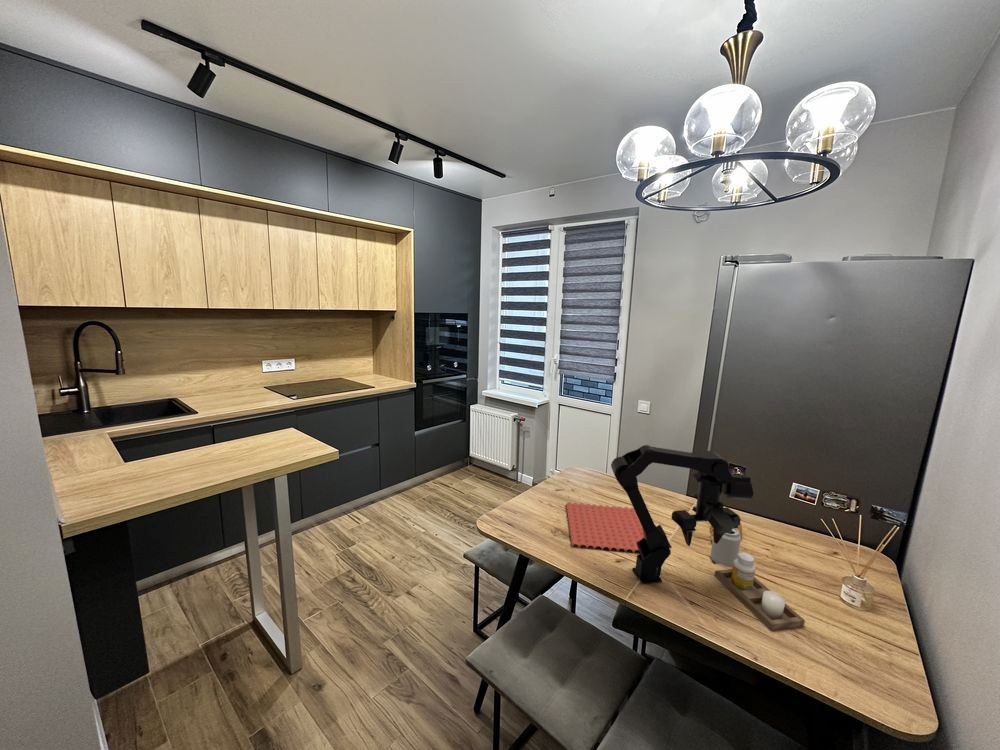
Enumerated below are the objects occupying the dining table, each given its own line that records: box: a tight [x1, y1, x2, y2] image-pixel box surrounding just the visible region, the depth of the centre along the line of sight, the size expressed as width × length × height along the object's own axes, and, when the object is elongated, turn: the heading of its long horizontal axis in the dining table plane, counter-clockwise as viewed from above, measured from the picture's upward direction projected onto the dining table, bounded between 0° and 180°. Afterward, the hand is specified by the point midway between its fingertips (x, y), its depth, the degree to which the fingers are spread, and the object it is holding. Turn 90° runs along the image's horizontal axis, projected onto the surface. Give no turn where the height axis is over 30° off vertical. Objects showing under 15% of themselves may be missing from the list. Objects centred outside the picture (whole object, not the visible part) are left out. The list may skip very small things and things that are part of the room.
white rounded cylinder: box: [760, 590, 786, 620], centre depth 102 cm, size 5×5×5 cm
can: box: [709, 528, 742, 567], centre depth 124 cm, size 8×8×12 cm
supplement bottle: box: [731, 552, 756, 591], centre depth 112 cm, size 5×5×10 cm
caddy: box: [714, 568, 806, 632], centre depth 108 cm, size 10×20×3 cm, turn 10°
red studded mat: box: [565, 501, 644, 554], centre depth 142 cm, size 28×28×2 cm
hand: (701, 544), depth 113 cm, fingers open, 9 cm apart
